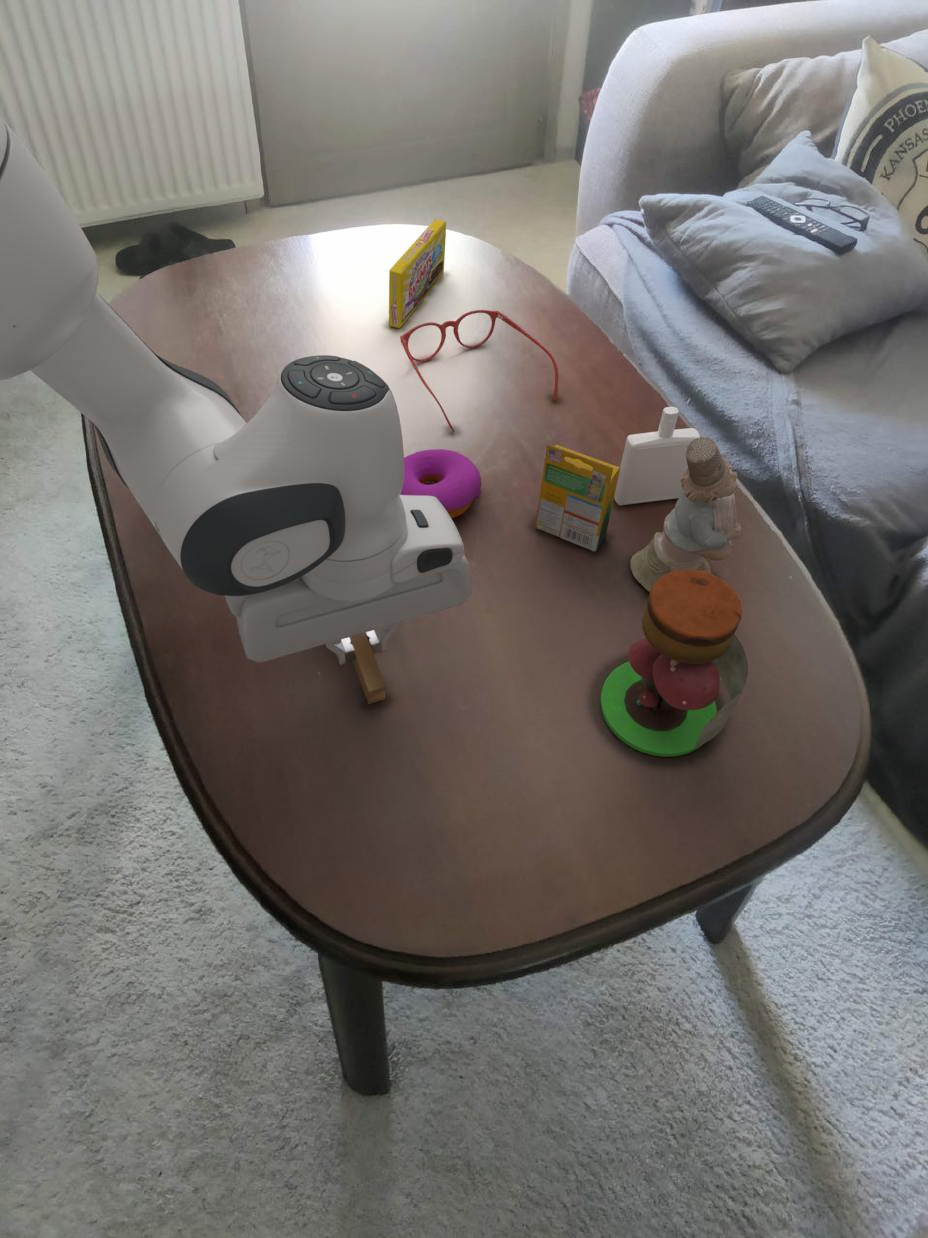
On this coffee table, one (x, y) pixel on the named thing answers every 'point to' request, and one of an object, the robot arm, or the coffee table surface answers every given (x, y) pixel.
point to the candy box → (416, 273)
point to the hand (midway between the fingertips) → (361, 652)
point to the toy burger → (678, 667)
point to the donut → (442, 478)
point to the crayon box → (576, 497)
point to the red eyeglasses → (455, 324)
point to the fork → (368, 669)
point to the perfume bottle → (654, 462)
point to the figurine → (694, 519)
